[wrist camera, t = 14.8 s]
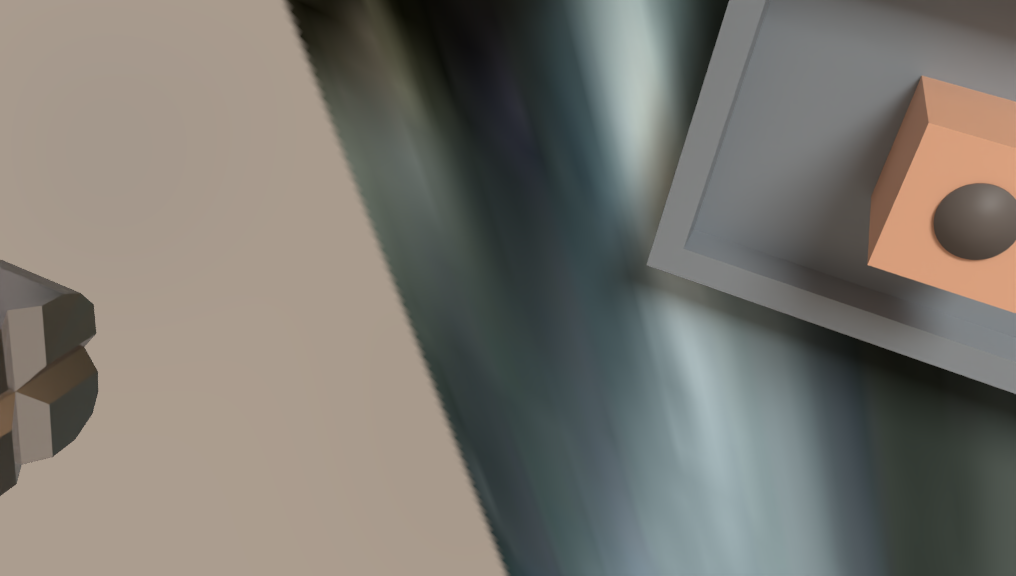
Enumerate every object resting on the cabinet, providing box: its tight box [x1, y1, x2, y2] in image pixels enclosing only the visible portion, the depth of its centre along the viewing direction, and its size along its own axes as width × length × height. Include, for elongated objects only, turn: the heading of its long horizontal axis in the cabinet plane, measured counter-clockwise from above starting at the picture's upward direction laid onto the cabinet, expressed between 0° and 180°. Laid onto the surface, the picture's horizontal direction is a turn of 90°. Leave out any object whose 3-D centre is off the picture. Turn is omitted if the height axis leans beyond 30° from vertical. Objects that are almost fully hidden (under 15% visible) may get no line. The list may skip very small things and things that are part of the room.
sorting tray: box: [647, 0, 1016, 394], centre depth 28 cm, size 12×16×2 cm
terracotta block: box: [867, 76, 1016, 313], centre depth 26 cm, size 4×4×6 cm
